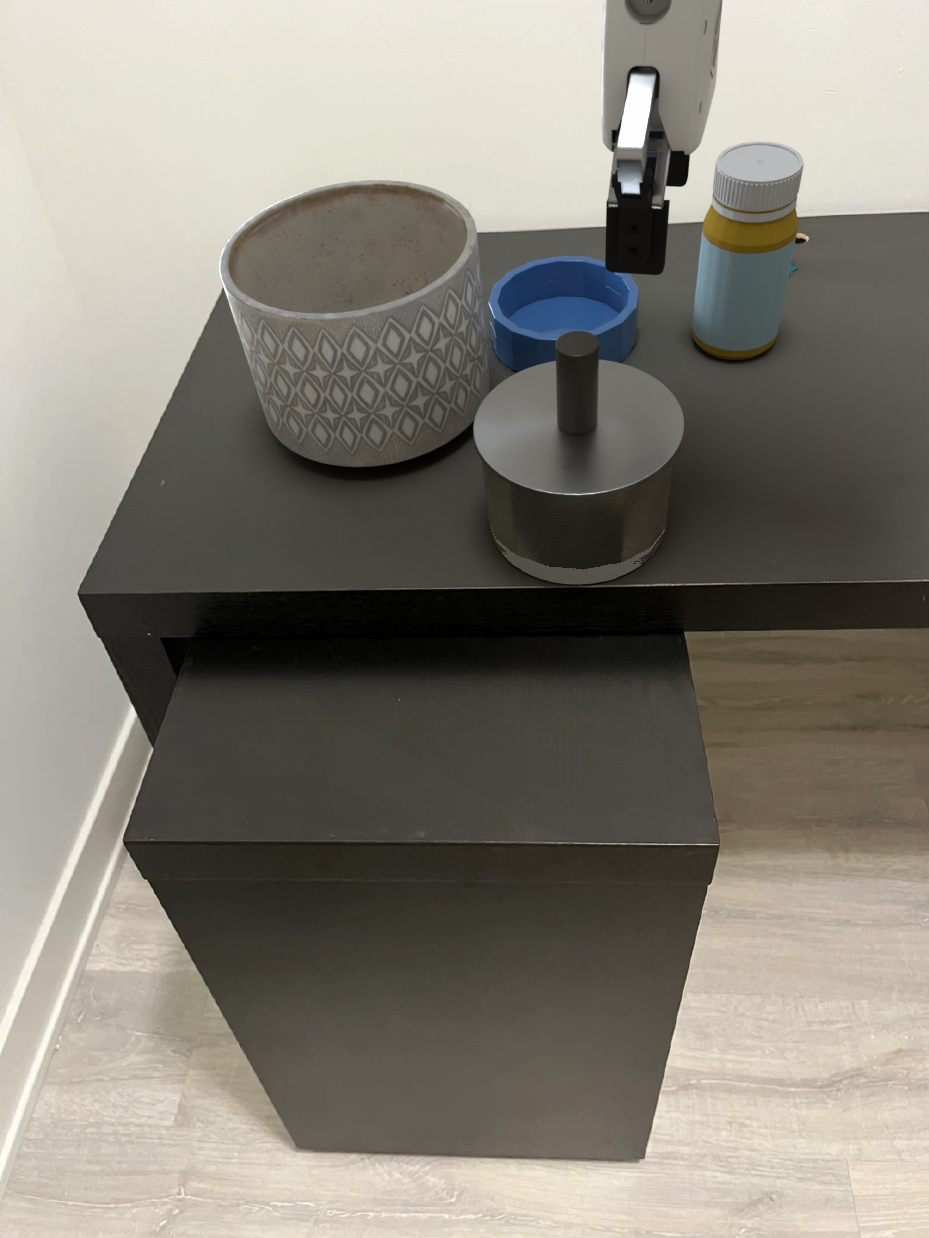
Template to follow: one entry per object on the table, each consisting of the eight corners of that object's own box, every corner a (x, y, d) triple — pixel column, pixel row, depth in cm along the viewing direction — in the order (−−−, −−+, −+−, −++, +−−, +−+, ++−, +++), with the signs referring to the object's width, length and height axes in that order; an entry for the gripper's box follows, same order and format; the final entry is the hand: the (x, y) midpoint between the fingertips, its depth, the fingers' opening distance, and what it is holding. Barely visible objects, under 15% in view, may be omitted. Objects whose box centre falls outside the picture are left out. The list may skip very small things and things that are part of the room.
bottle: (682, 356, 79) (700, 179, 68) (701, 309, 83) (722, 135, 71) (766, 369, 77) (800, 189, 65) (783, 321, 81) (817, 143, 69)
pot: (695, 495, 69) (708, 400, 62) (613, 611, 63) (618, 521, 56) (546, 442, 74) (543, 350, 67) (456, 545, 68) (443, 455, 61)
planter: (317, 330, 87) (279, 174, 75) (514, 348, 82) (505, 185, 71) (233, 466, 76) (173, 307, 64) (455, 495, 71) (433, 330, 60)
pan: (660, 317, 83) (663, 276, 80) (592, 397, 77) (592, 355, 74) (538, 284, 88) (537, 243, 85) (465, 356, 82) (461, 316, 79)
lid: (717, 406, 63) (731, 312, 57) (621, 536, 56) (626, 444, 51) (541, 351, 68) (537, 261, 63) (434, 464, 62) (420, 374, 56)
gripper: (737, -80, 36) (695, 315, 49) (772, -197, 46) (729, 157, 59) (543, -75, 38) (553, 305, 51) (618, -188, 48) (610, 153, 61)
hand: (648, 225), depth 55 cm, fingers open, 9 cm apart
